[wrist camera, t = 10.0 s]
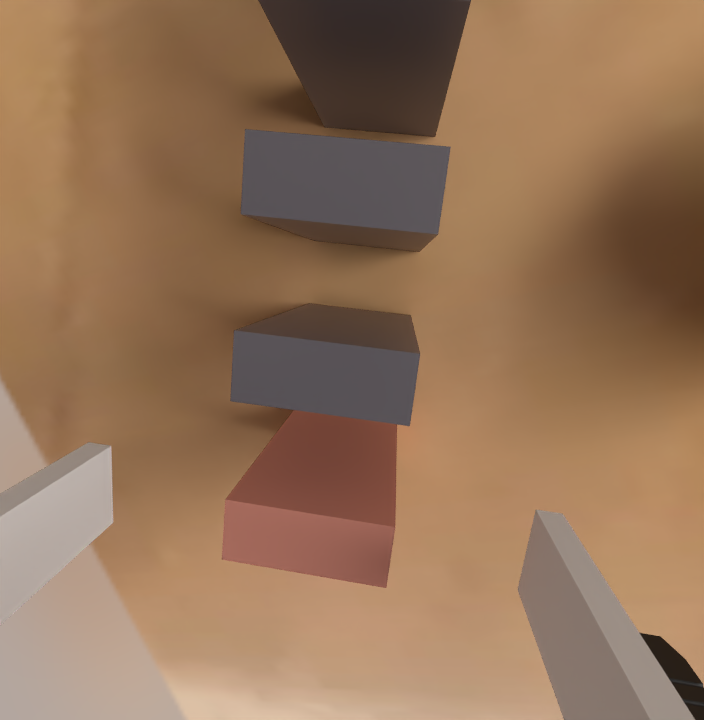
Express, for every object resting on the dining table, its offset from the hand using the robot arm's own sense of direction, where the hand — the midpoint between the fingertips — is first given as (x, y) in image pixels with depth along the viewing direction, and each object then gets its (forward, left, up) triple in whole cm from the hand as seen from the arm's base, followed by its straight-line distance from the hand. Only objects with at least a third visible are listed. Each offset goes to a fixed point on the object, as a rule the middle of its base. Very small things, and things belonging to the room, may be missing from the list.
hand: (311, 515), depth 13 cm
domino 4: (0, 0, -9) cm, 9 cm away
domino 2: (-10, 0, -9) cm, 13 cm away
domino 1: (-15, 0, -9) cm, 17 cm away
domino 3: (-5, 0, -9) cm, 10 cm away
